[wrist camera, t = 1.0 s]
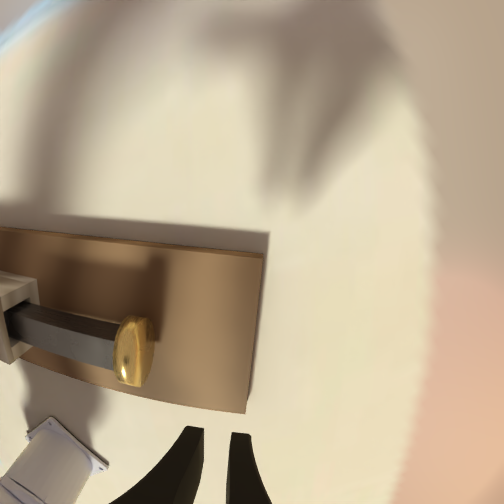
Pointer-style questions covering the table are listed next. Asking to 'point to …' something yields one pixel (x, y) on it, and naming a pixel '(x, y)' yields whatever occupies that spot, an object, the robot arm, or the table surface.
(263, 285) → the table surface
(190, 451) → the robot arm
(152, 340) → the shaft
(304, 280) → the table surface
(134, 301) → the board
